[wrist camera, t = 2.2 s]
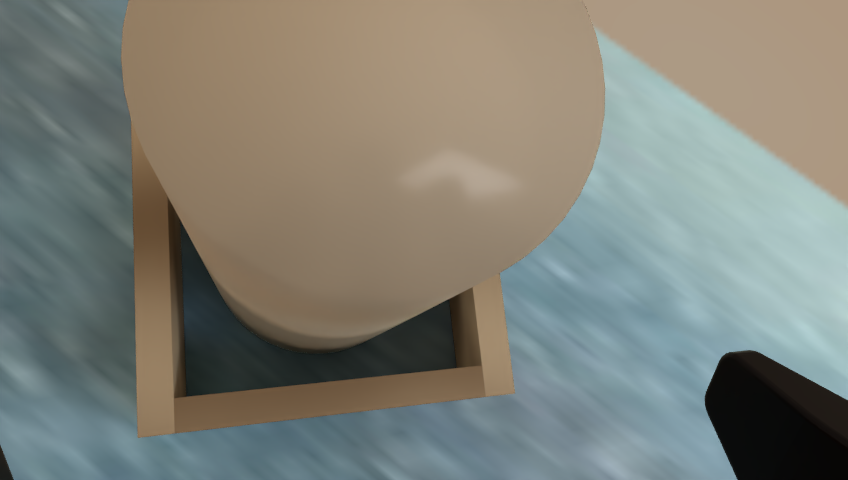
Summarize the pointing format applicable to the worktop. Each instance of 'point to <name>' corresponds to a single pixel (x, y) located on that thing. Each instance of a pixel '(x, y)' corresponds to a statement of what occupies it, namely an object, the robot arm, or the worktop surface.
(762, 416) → the robot arm
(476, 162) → the jug
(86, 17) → the worktop surface
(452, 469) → the worktop surface
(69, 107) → the worktop surface
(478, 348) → the holder
